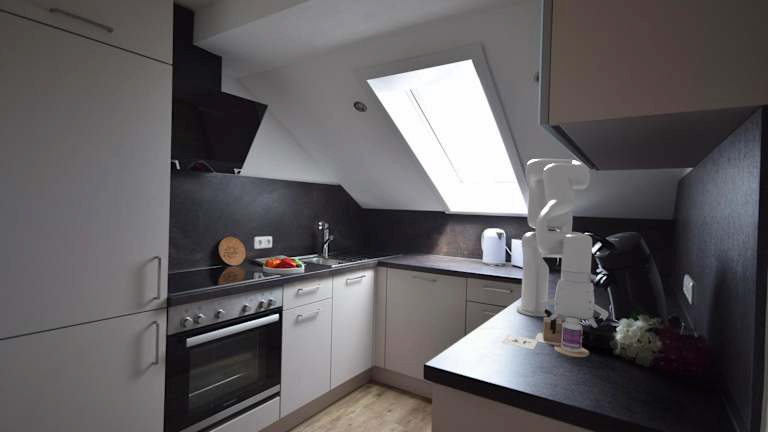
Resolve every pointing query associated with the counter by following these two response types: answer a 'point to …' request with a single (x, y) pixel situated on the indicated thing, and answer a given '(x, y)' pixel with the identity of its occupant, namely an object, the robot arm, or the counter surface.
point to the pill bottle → (572, 334)
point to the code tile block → (540, 339)
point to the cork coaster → (579, 354)
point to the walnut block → (548, 333)
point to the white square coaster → (520, 342)
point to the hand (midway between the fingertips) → (572, 336)
